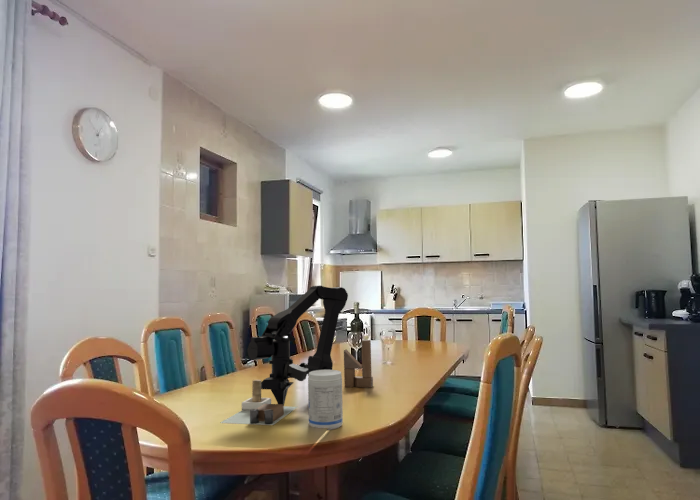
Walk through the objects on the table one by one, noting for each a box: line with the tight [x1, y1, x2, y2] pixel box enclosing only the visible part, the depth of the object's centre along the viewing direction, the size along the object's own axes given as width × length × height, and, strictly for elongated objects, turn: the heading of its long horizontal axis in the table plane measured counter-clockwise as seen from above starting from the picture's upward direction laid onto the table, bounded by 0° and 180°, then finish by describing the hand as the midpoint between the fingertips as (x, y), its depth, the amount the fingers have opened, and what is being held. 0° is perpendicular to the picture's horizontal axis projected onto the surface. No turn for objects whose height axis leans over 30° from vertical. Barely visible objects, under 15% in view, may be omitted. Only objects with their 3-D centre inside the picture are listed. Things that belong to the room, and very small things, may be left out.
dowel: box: [251, 379, 262, 402], centre depth 151 cm, size 3×3×8 cm
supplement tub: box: [307, 369, 344, 431], centre depth 133 cm, size 10×10×15 cm
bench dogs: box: [250, 409, 273, 425], centre depth 134 cm, size 7×2×4 cm, turn 77°
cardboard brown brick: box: [257, 403, 285, 422], centre depth 139 cm, size 6×8×3 cm
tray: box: [241, 396, 272, 411], centre depth 151 cm, size 7×7×2 cm
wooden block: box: [343, 339, 374, 389], centre depth 187 cm, size 4×11×18 cm, turn 75°
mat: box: [220, 405, 298, 426], centre depth 143 cm, size 16×21×1 cm
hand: (281, 407), depth 148 cm, fingers closed
